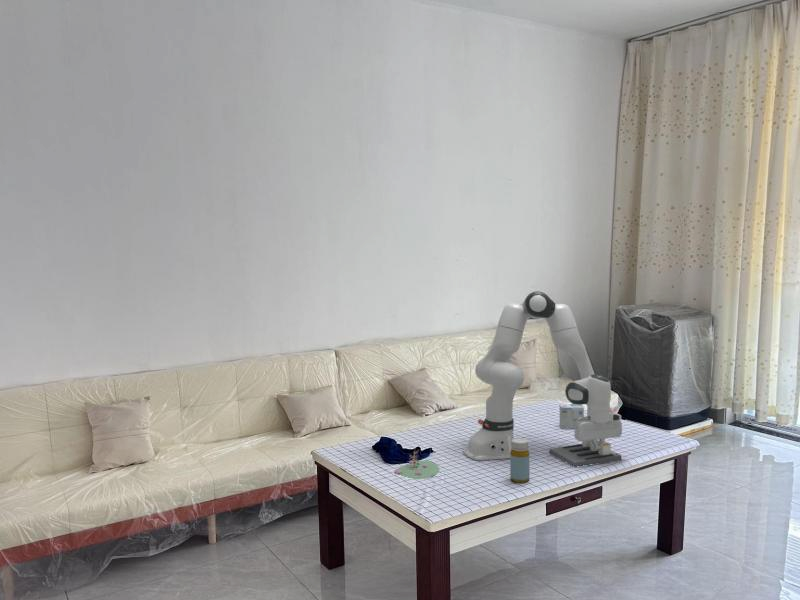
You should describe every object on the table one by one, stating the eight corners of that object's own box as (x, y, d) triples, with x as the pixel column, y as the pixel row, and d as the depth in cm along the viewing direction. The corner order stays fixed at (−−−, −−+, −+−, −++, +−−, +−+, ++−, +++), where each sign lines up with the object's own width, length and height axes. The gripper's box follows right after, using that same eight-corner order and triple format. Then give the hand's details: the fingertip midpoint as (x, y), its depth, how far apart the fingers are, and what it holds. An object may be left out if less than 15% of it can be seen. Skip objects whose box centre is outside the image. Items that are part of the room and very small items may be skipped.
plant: (393, 488, 232) (392, 464, 231) (367, 471, 249) (366, 449, 249) (449, 474, 244) (448, 451, 244) (420, 459, 262) (420, 437, 261)
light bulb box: (581, 425, 303) (581, 403, 302) (584, 429, 296) (584, 407, 295) (558, 425, 304) (559, 403, 303) (561, 429, 297) (561, 406, 296)
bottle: (506, 479, 236) (506, 440, 235) (517, 474, 241) (517, 436, 239) (522, 484, 231) (522, 444, 230) (533, 479, 236) (533, 440, 234)
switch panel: (574, 467, 247) (574, 451, 247) (549, 453, 264) (549, 438, 264) (621, 460, 254) (621, 444, 254) (593, 446, 271) (593, 432, 271)
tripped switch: (603, 455, 254) (603, 445, 253) (598, 453, 257) (598, 443, 256) (610, 454, 255) (610, 444, 254) (605, 452, 258) (605, 442, 257)
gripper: (580, 419, 247) (579, 454, 248) (624, 415, 253) (623, 449, 254) (571, 415, 252) (570, 449, 254) (615, 411, 259) (614, 444, 260)
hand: (597, 449), depth 254 cm, fingers closed
